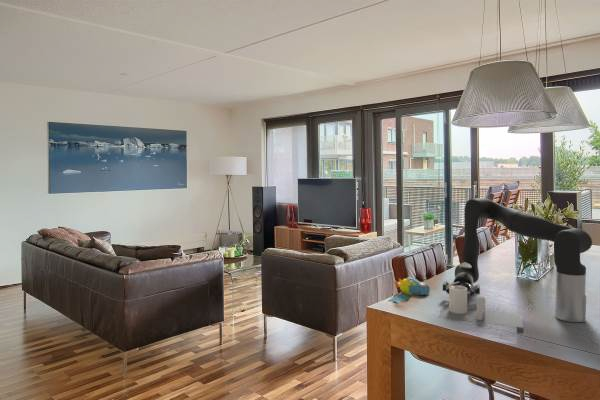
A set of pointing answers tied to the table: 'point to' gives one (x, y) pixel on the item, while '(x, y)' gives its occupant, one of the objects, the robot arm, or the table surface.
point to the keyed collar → (458, 299)
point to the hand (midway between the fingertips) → (459, 292)
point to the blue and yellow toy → (409, 289)
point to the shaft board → (485, 316)
